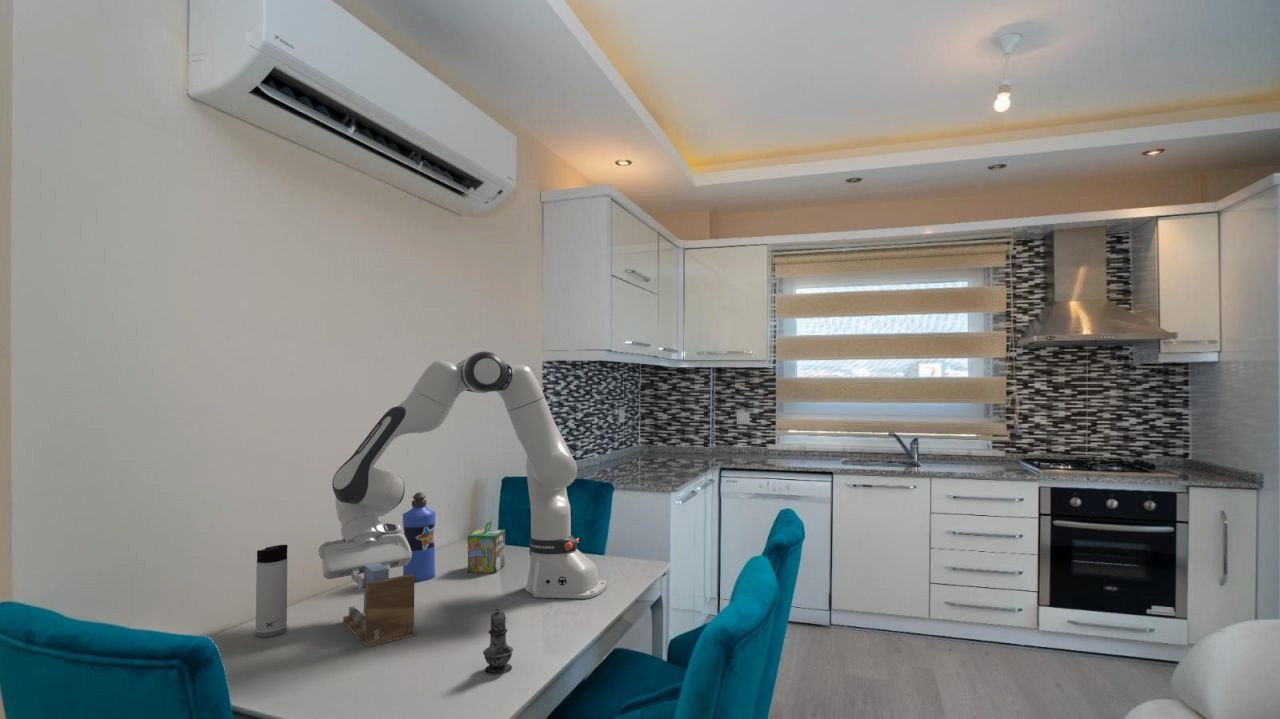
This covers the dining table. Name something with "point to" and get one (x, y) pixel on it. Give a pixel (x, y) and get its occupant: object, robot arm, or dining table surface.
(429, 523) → the water bottle
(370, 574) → the pale blue rectangular block
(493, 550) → the chalk box
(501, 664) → the salt shaker
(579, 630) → the dining table surface
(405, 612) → the brown wooden holder
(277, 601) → the travel mug
